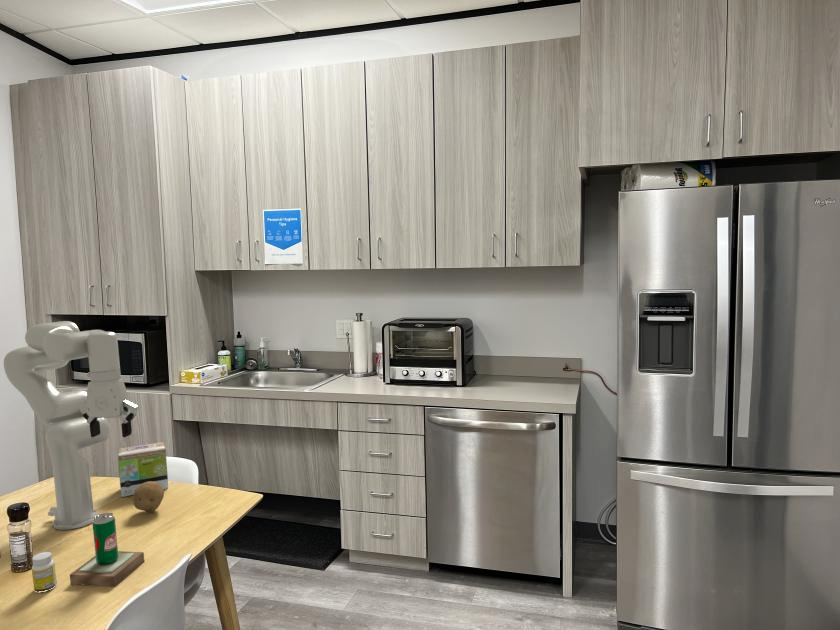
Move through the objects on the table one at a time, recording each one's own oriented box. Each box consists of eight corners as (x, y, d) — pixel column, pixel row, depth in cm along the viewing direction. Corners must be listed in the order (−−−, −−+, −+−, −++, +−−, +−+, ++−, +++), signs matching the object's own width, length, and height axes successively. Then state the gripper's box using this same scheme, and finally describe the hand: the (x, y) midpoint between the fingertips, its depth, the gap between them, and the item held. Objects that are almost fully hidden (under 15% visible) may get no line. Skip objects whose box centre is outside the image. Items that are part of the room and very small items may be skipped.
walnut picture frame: (70, 584, 148) (69, 573, 147) (103, 560, 159) (101, 549, 159) (115, 586, 146) (113, 574, 146) (144, 561, 158) (143, 550, 157)
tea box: (121, 498, 202) (117, 456, 200) (120, 489, 211) (116, 448, 209) (169, 489, 208) (165, 447, 207) (166, 480, 217) (163, 440, 216)
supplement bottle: (40, 583, 149) (37, 551, 148) (60, 582, 149) (57, 550, 148) (30, 594, 144) (26, 561, 143) (50, 593, 144) (46, 559, 143)
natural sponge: (156, 519, 184) (153, 487, 183) (128, 519, 185) (125, 488, 184) (170, 506, 193) (167, 476, 192) (143, 507, 194) (140, 477, 193)
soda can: (109, 567, 150) (104, 521, 148) (91, 565, 151) (87, 519, 149) (123, 556, 154) (118, 512, 153) (106, 555, 155) (101, 511, 154)
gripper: (68, 379, 165) (74, 439, 166) (125, 378, 162) (131, 440, 164) (86, 373, 172) (92, 431, 174) (142, 373, 169) (147, 431, 171)
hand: (111, 435), depth 169 cm, fingers open, 9 cm apart
